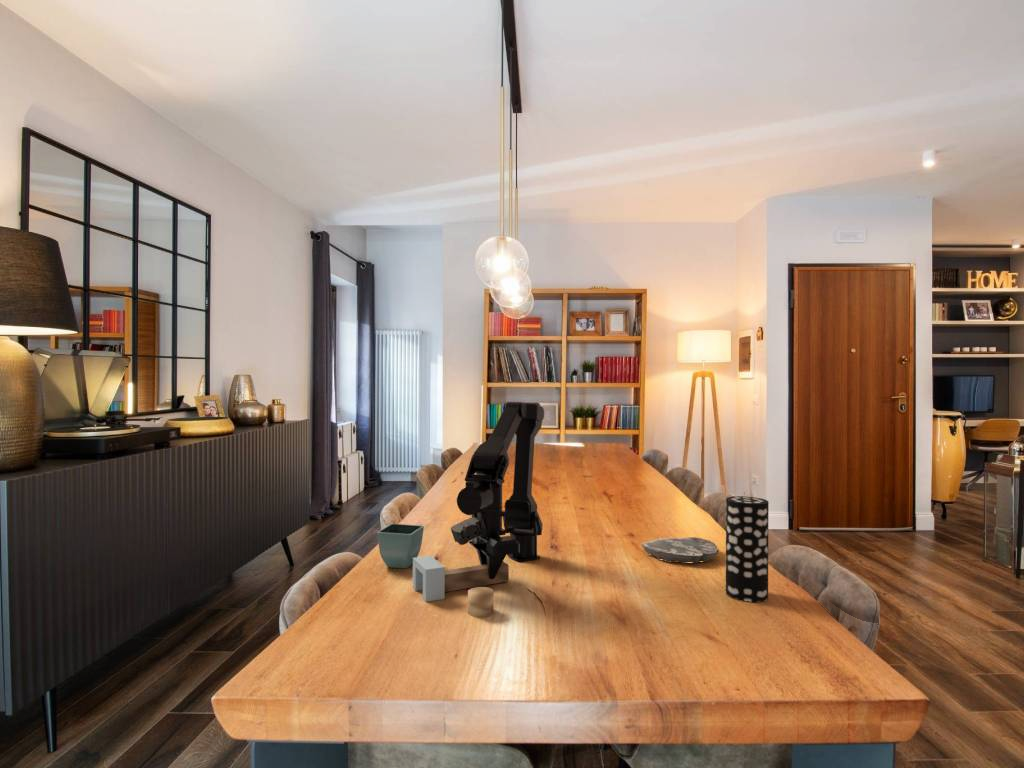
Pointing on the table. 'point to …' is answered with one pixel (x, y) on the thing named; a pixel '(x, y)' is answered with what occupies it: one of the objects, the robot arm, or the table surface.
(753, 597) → the white-spotted black cylinder
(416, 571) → the grey arch block
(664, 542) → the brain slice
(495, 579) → the brown wooden bar
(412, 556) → the flower pot
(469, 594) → the bead
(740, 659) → the table surface
